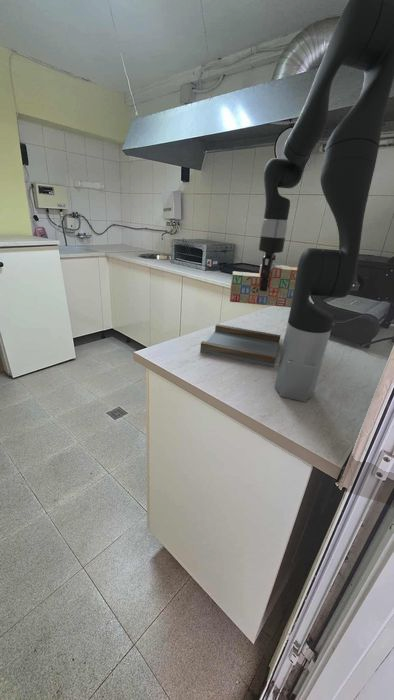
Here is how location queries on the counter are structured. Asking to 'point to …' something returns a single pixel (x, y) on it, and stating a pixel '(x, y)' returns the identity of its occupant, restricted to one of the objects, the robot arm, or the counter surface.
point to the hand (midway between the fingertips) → (264, 288)
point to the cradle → (242, 345)
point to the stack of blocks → (278, 288)
